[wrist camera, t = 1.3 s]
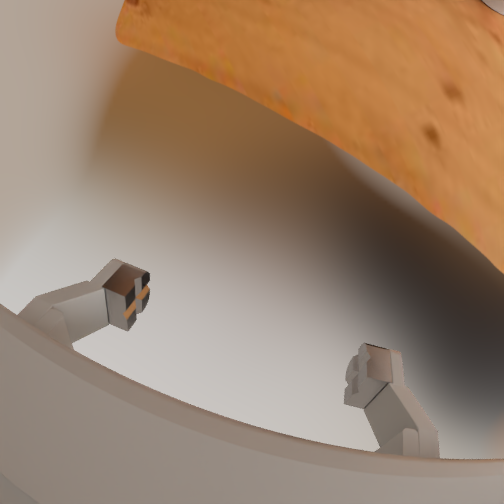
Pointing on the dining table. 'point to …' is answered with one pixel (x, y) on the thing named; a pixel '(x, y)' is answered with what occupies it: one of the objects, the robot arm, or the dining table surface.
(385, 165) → the dining table surface
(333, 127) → the dining table surface
